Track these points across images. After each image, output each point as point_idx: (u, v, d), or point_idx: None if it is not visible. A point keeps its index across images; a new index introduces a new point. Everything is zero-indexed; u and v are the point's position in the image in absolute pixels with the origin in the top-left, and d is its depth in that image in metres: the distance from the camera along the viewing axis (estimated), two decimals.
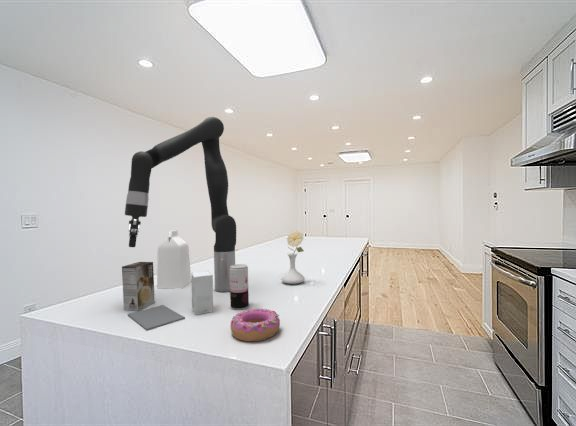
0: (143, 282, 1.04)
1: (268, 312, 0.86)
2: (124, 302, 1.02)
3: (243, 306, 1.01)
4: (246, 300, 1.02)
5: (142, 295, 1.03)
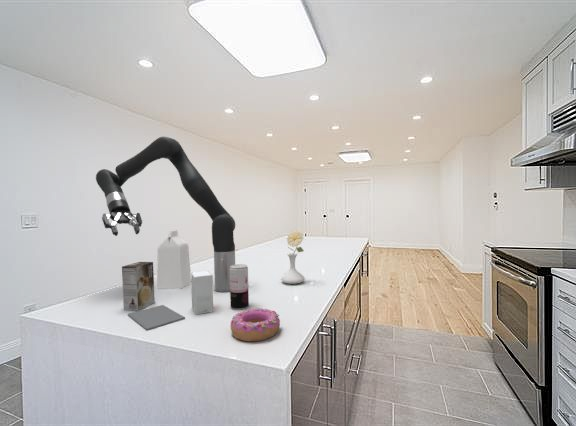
0: (143, 282, 1.04)
1: (268, 312, 0.86)
2: (124, 302, 1.02)
3: (243, 306, 1.01)
4: (246, 300, 1.02)
5: (142, 295, 1.03)
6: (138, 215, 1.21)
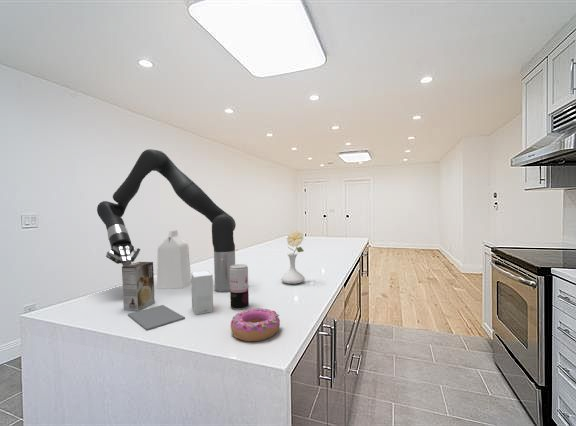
0: (143, 282, 1.04)
1: (268, 312, 0.86)
2: (124, 302, 1.02)
3: (243, 306, 1.01)
4: (246, 300, 1.02)
5: (142, 295, 1.03)
6: (137, 250, 1.20)
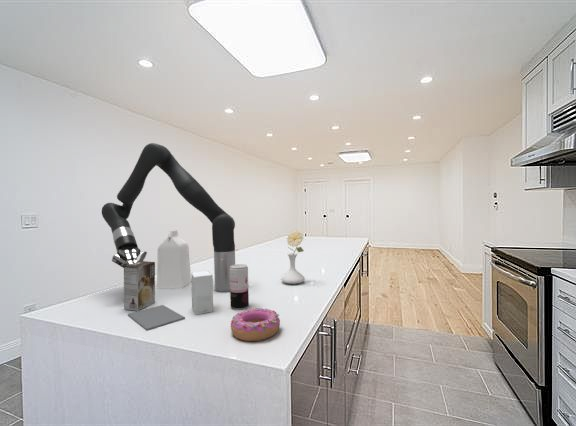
0: (144, 282, 1.04)
1: (268, 312, 0.86)
2: (124, 301, 1.02)
3: (243, 306, 1.01)
4: (246, 300, 1.02)
5: (143, 295, 1.03)
6: (143, 254, 1.16)
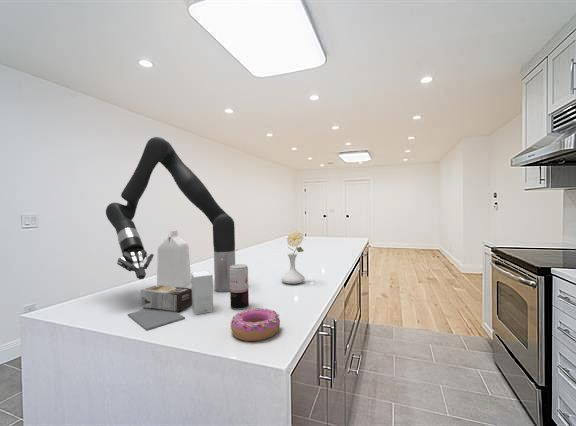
0: None
1: (268, 312, 0.86)
2: (146, 292, 1.02)
3: (243, 306, 1.01)
4: (246, 300, 1.02)
5: None
6: (150, 256, 1.10)
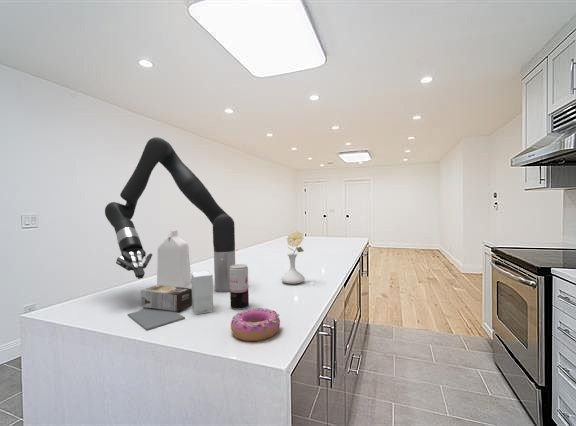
0: None
1: (268, 312, 0.86)
2: (146, 292, 1.02)
3: (243, 306, 1.01)
4: (246, 300, 1.02)
5: None
6: (149, 256, 1.10)
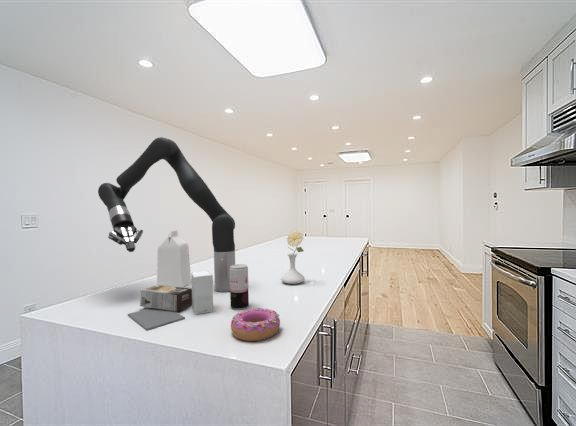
0: None
1: (268, 312, 0.86)
2: (146, 292, 1.02)
3: (243, 306, 1.01)
4: (246, 300, 1.02)
5: None
6: (140, 232, 1.17)
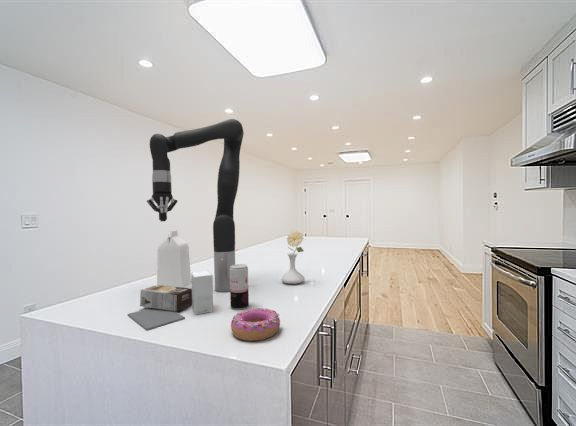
0: None
1: (268, 312, 0.86)
2: (146, 292, 1.02)
3: (243, 306, 1.01)
4: (246, 300, 1.02)
5: None
6: (174, 202, 1.26)
